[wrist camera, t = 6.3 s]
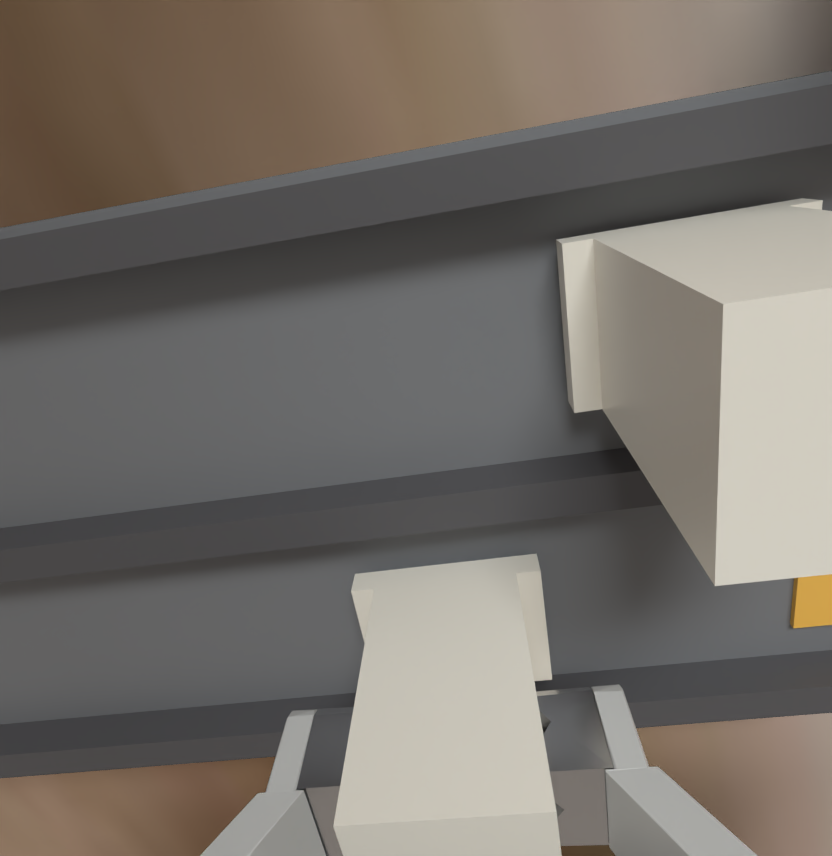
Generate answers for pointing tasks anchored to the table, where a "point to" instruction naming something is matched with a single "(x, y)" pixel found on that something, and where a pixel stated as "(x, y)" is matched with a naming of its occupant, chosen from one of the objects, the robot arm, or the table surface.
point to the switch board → (360, 437)
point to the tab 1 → (449, 714)
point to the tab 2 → (716, 375)
